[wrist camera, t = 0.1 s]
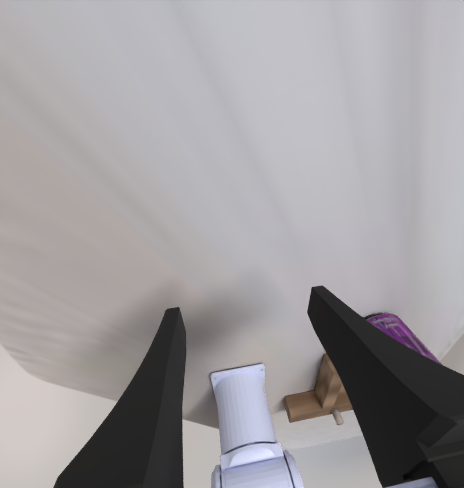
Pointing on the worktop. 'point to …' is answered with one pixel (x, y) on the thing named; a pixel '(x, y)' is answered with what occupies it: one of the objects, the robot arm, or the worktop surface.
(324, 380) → the pin nest
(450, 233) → the worktop surface
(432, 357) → the beverage can
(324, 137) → the worktop surface
